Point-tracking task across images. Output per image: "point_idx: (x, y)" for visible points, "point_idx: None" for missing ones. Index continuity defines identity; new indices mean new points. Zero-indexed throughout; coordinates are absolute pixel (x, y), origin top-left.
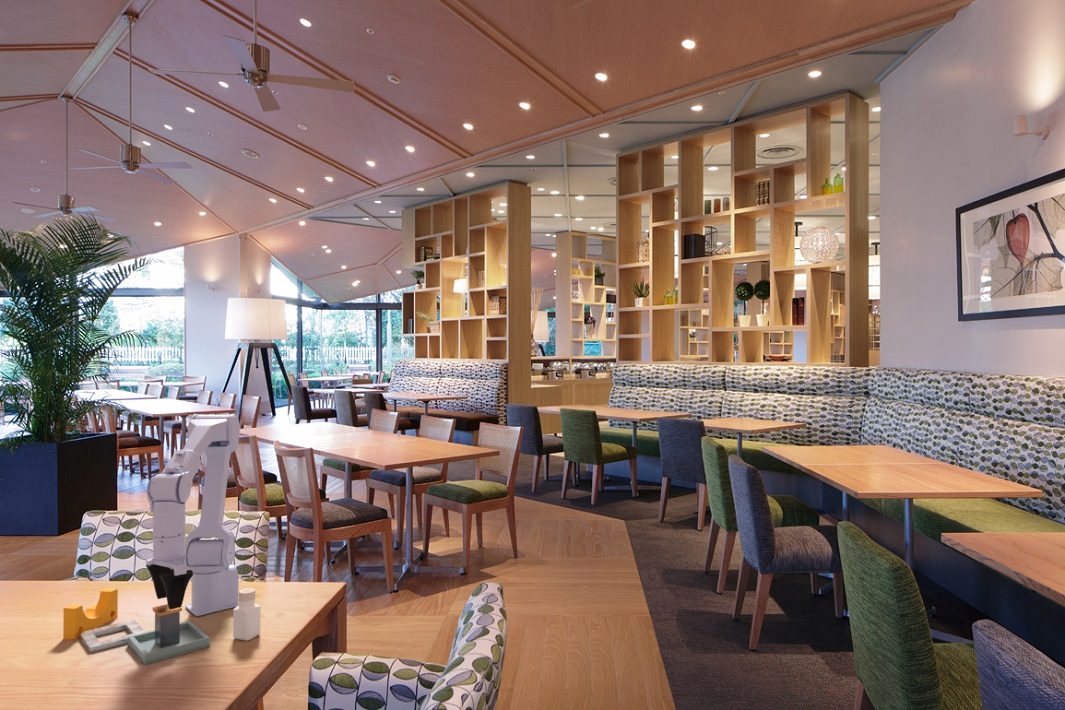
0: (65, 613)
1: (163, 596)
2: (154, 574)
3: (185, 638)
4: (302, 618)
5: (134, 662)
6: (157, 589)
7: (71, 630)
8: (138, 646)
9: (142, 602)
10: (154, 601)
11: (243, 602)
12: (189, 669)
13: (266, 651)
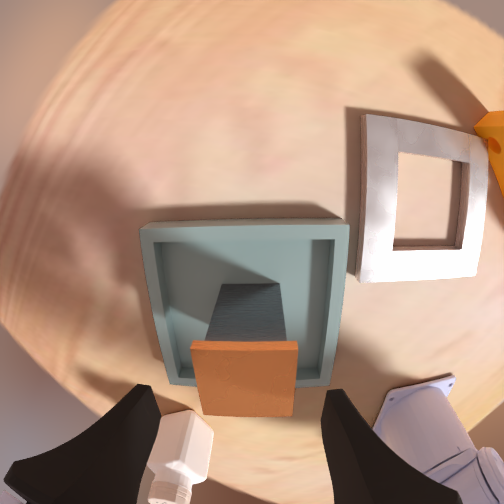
0: None
1: (324, 410)
2: (362, 495)
3: None
4: (219, 477)
5: (187, 202)
6: (337, 425)
7: (493, 120)
8: (227, 230)
9: None
10: None
11: (155, 480)
12: (76, 296)
13: (103, 408)
